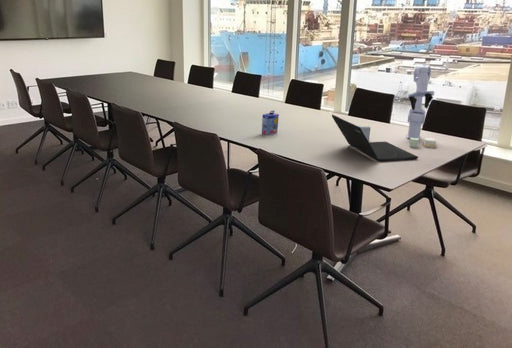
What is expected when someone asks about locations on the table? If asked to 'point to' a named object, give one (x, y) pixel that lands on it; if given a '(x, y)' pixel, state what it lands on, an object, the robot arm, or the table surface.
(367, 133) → the medicine box
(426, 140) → the top slab
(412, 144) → the cube
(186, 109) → the table surface
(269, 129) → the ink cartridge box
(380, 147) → the laptop
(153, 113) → the table surface
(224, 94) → the table surface
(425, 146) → the bottom slab
